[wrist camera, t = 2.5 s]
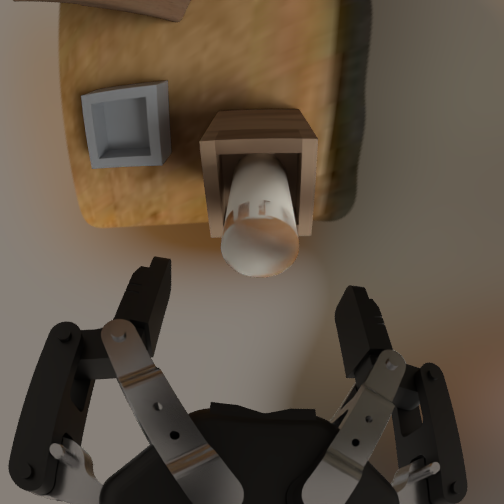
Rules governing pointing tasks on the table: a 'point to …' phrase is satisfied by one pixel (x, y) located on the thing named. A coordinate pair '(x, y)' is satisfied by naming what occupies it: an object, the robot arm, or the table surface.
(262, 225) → the white and tan cylinder
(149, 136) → the low socket
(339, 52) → the table surface
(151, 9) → the wooden block
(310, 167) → the socket tower
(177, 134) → the table surface
